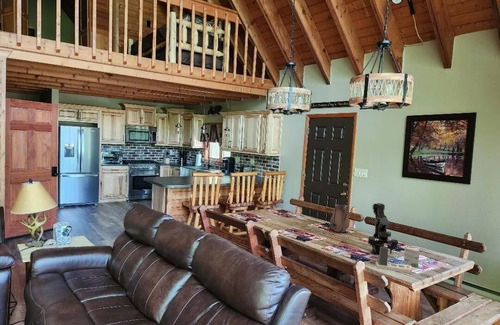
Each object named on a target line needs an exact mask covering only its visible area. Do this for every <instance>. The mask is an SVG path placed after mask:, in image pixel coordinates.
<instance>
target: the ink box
mask: <svg viewBox="0 0 500 325" xmlns="http://www.w3.org/2000/svg"><path fill="white" fill-rule="evenodd" d="M403 254H404V256H403V264H405V265H409V266H410V267H413V268H416V269H417V268H418V267H419V260H420V249H417V248H412V247H409V246H406V247H405V248H404V253H403Z"/></svg>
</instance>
